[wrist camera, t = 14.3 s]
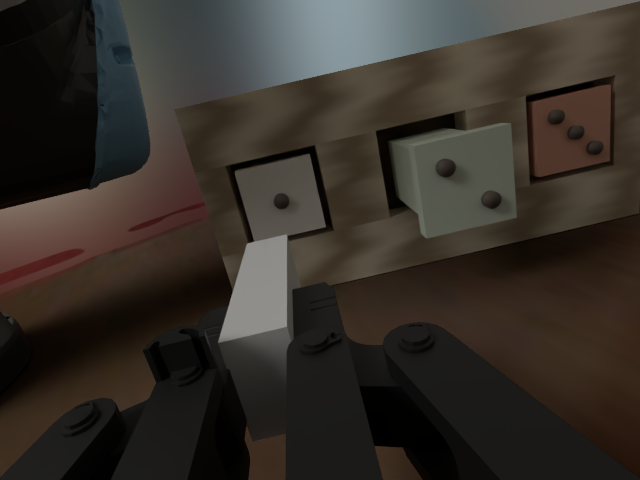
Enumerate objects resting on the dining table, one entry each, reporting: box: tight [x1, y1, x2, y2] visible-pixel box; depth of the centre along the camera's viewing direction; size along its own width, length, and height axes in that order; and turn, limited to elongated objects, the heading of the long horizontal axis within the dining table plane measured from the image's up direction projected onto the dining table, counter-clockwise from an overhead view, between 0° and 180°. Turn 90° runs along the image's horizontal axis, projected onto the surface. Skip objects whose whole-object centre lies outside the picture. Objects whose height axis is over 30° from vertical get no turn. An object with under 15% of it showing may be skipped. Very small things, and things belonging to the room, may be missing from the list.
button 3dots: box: [526, 85, 611, 177], centre depth 30 cm, size 5×8×5 cm, turn 5°
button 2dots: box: [388, 123, 517, 239], centre depth 25 cm, size 5×8×5 cm, turn 5°
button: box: [234, 151, 326, 242], centre depth 30 cm, size 5×8×5 cm, turn 5°
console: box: [175, 1, 640, 290], centre depth 32 cm, size 30×10×14 cm, turn 95°
